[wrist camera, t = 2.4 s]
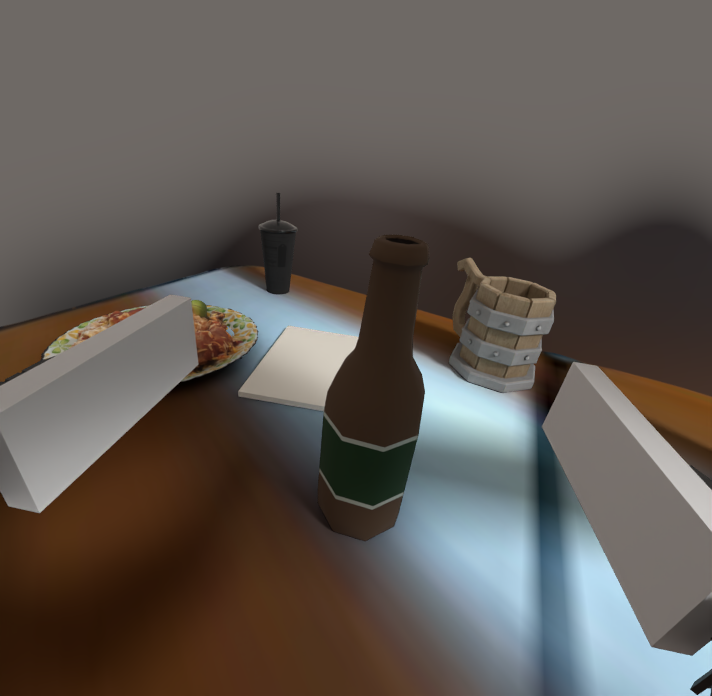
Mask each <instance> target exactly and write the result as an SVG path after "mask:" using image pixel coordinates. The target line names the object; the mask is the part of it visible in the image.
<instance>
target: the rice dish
mask: <svg viewBox="0 0 712 696" xmlns="http://www.w3.org/2000/svg"><path fill="white" fill-rule="evenodd" d="M191 303H192V312H193V321H194V330H195V338H196V347H197V356H198V365H197V366H196V367H195V368H194V369H193V370H192V371H191V372H190V373H189V374H188V375H187V376H186V377H185V378H184V379H183V380H181V381H185V382H186V381H188V380H191V379H193V378H199V376H201V377H202V376H204V375H206V374H208V373H211V372H216V370H219V369H221V368H224V367H226V366H227V365H229V364H230V363H232V362H234V361H236V360H237V359H241V358H242V356H243V355H245V354H247V353H248V352H249V351H250V349H251V348H252V347H253V346H254V344H256V341H257V340H258V339H257V338H258V337H257V335H258V330H257V329H256V328H257V326H256V325H255V324H254V322H253V321H252V319H251V318H248V317H246V316H245V315H243V314H242V313H239V312H237V311H234V310H232V309H225V308H220V307H217V306H211V305H205V303H203V302H202V301H199V300H193V301H191ZM146 307H148V306H141V307H138V308H131V309H127V310H123V311H120V312H119V311H115V312H113V313H110V314H107V315H104V316H101V317H99V318H95V319H93V320H91V321H87V322H85V323H82V324H80V325H79V326H77V327H74V328H73V329H71V330H69V331H68V332H65V333H64V334H63V335H61V336H60V337H58V338H57V339H55V341H54V342H52V343H51V345H50V346H48V347H47V349H46V350H45V351H44V353H42V356H41V357H43V358H42V360H44V359H47V358H50V357H53V356H56V355H59V354H61V353H62V352H64V351H66V350H68V349H70V348H72V347H74V346H76V345H77V344H79V343H81V342H83V341H85V340H87V339H89V338H90V337H92V336H94V335H96V334H98V333H100V332H102V331H103V330H105V329H107V328H109V327H111V326H113V325H115V324H117V323H118V322H120V321H122V320H124V319H126V318H128V317H130V316H131V315H133V314H135V313H137V312H139V311H141V310H143V309H144V308H146ZM207 317H208V318H207ZM227 326H229V328H230V329H231V330H232V331H233V332H234V334H235V335H234V336H232V337H231V335H229V333H228V332H226V330H227V329H228V328H227ZM40 361H41V360H40Z"/></svg>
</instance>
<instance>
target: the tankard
mask: <svg viewBox="0 0 712 696" xmlns="http://www.w3.org/2000/svg"><path fill="white" fill-rule="evenodd" d="M457 264H458V270H459V271H466V273H467V275H468V277H467V280H466V283H465V286H464V289H463V292H462V294H461V295H460V297H459V299H458V301H457V303H456V304H455V308H454V312H453V328H454V331H455V332H456V333H457V334H458V335H459V336H460V342H461V343H457V345H456V347H455V349H454V350H453V352H452V354H451V356H450V360H449V364H450V365H451V366H452V367H453V368H454V369H455V370H456V371H457V372H458V373H460V374H461V375H462V376H463V377H464V378H465V379H466V380H467V381H468V382H471V383H474V384H477V385H480V386H483V387H486V388H489V389H492V390H495V391H498V392H501V393H505V392H512V391H520V390H527V389H531V388H532V386H533V383H534V376H535V366H534V363H536V362H537V360H538V357H539V355H540V352H541V351H542V349H541V341H542V339H541V338H542V335H543V334H548V333H549V331H550V328H551V326H552V323H553V321H554V312H553V308H554V306H555V303H556V294H555V293H554V292H553V291H551V290H549V289H547V288H545V287H542V286H540V285H538V284H536V283H532V282H529V281H524V280H520V279H515V278H511V277H507V278H506V277H486V276H484V275H482V273H481V272H480V270H479V269H478V268H477V266H476V264H475V263H474V261H473V259H472V258H466V259H464V260H461V261H459V262H458V263H457ZM478 286H479V289H478V291H476V290H477V287H478ZM469 304H470V305H469ZM468 306H469V309H468V314H470V315H471V317H470V319H468V321H467V322H466V324H465V313H466V309H467V307H468Z"/></svg>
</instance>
